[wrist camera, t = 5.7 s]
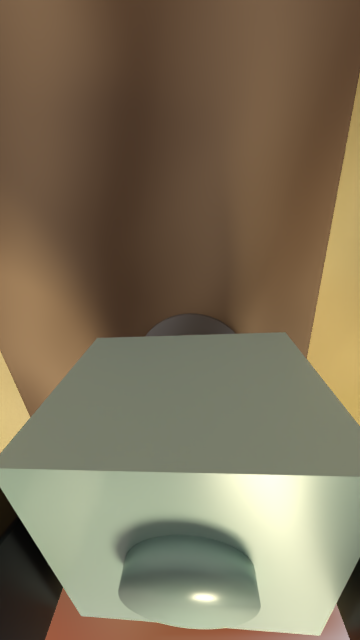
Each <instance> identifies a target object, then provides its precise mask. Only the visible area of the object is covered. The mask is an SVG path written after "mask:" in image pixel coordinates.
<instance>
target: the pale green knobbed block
mask: <svg viewBox="0 0 360 640" xmlns="http://www.w3.org/2000/svg"><path fill="white" fill-rule="evenodd" d="M0 488H1V489H2V491H3V493H4V494H5V496H6V497H7V499H8V501H9V502H10V504H11V505H12V507H13V508H14V510H15V512H16V513H17V515H18V516H19V518H20V520H21V521H22V523H23V524H24V526H25V528H26V529H27V531H28V532H29V534H30V535H31V537H32V539H33V540H34V542H35V543H36V545H37V547H38V548H39V550H40V551H41V553H42V554H43V556H44V558H45V559H46V561H47V562H48V564H49V566H50V567H51V569H52V570H53V572H54V574H55V575H56V577H57V578H58V580H59V581H60V583H61V585H62V586H63V588H64V589H65V591H66V592H67V594H68V596H69V597H70V599H71V600H72V602H73V604H74V605H75V607H76V608H77V610H78V612H79V613H80V615H81V616H89V617H100V618H112V619H124V620H137V621H149V622H158V623H162V624H166V625H171V626H176V627H182V628H191V629H219V628H233V629H246V630H258V631H270V632H282V633H294V634H295V633H296V634H306V635H318V636H320V634H321V632H322V630H323V629H324V626H325V625H326V623H327V621H328V619H329V617H330V615H331V613H332V611H333V609H334V607H335V605H336V603H337V601H338V599H339V597H340V595H341V593H342V591H343V589H344V587H345V585H346V583H347V581H348V580H349V578H350V576H351V574H352V572H353V570H354V568H355V566H356V564H357V562H358V560H359V558H360V426H359V425H358V424H357V422H356V421H355V420H354V418H353V417H352V416H351V415H350V413H349V412H348V411H347V410H346V408H345V407H344V406H343V405H342V403H341V402H340V401H339V399H338V398H337V397H336V396H335V394H334V393H333V392H332V391H331V389H330V388H329V387H328V386H327V384H326V383H325V382H324V381H323V379H322V378H321V377H320V375H319V374H318V373H317V372H316V370H315V369H314V368H313V367H312V365H311V364H310V363H309V362H308V360H307V359H306V358H305V356H304V355H303V354H302V353H301V351H300V350H299V349H298V348H297V346H296V345H295V344H294V343H293V341H292V340H291V339H290V337H289V336H288V335H287V334H286V332H277V333H244V334H211V335H179V336H146V337H113V338H97V339H96V340H95V341H94V342H93V344H92V345H91V346H90V347H89V348H88V349H87V351H86V352H85V353H84V354H83V355H82V357H81V358H80V359H79V360H78V361H77V363H76V364H75V365H74V366H73V367H72V369H71V370H70V371H69V372H68V373H67V375H66V376H65V377H64V378H63V379H62V381H61V382H60V383H59V384H58V385H57V386H56V388H55V389H54V390H53V391H52V392H51V394H50V395H49V396H48V397H47V398H46V400H45V401H44V402H43V403H42V404H41V406H40V407H39V408H38V409H37V410H36V412H35V413H34V414H33V415H32V416H31V418H30V419H29V420H28V421H27V422H26V424H25V425H24V426H23V427H22V428H21V429H20V431H19V432H18V433H17V434H16V435H15V437H14V438H13V439H12V440H11V441H10V443H9V444H8V445H7V446H6V447H5V449H4V450H3V451H2V452H1V453H0Z"/></svg>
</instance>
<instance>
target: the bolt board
mask: <svg viewBox="0 0 360 640" xmlns="http://www.w3.org/2000/svg"><path fill="white" fill-rule="evenodd" d="M359 72H360V0H0V351H1V353H2V355H3V357H4V360H5V362H6V364H7V366H8V369H9V371H10V373H11V375H12V377H13V380H14V382H15V384H16V386H17V388H18V391H19V393H20V395H21V397H22V399H23V402H24V404H25V406H26V408H27V411H28V413H29V415H30V417H31V416H32V415H33V414H34V413H35V412H36V410H37V409H38V408H39V407H40V406H41V404H42V403H43V402H44V401H45V400H46V398H47V397H48V396H49V395H50V394H51V392H52V391H53V390H54V389H55V388H56V386H57V385H58V384H59V383H60V382H61V381H62V379H63V378H64V377H65V376H66V375H67V373H68V372H69V371H70V370H71V369H72V367H73V366H74V365H75V364H76V363H77V361H78V360H79V359H80V358H81V357H82V355H83V354H84V353H85V352H86V351H87V349H88V348H89V347H90V346H91V345H92V344H93V342H94V341H95V340H96V339H97V338H113V337H146V336H179V335H211V334H244V333H277V332H286V334H287V335H288V336H289V337H290V339H291V340H292V341H293V343H294V344H295V345H296V346H297V348H298V349H299V350H300V351H301V353H302V354H303V355H304V356H305V358H306V359H307V353H308V348H309V343H310V337H311V332H312V326H313V321H314V316H315V310H316V305H317V299H318V294H319V289H320V283H321V278H322V272H323V267H324V261H325V256H326V251H327V245H328V240H329V234H330V229H331V224H332V218H333V213H334V207H335V202H336V197H337V191H338V186H339V180H340V175H341V170H342V164H343V159H344V153H345V148H346V142H347V137H348V132H349V126H350V121H351V115H352V110H353V105H354V99H355V94H356V88H357V83H358V78H359Z"/></svg>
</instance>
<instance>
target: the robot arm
mask: <svg viewBox="0 0 360 640" xmlns="http://www.w3.org/2000/svg"><path fill="white" fill-rule="evenodd" d="M62 589H63V586H62V585H61V583H60V581H59V580H58V578H57V577H56V575H55V574H54V572H53V570H52V569H51V567H50V566H49V564H48V562H47V561H46V559H45V558H44V556H43V554H42V553H41V551H40V550H39V548H38V547H37V545H36V543H35V542H34V540H33V539H32V537H31V535H30V534H29V532H28V531H27V529H26V528H25V526H24V524H23V523H22V521H21V520H20V518H19V516H18V515H17V513H16V512H15V510H14V508H13V507H12V505H11V504H10V502H9V501H8V499H7V497H6V496H5V494H4V493H3V491H2V489H1V488H0V640H45V638H46V635H47V632H48V629H49V626H50V624H51V620H52V617H53V615H54V612H55V609H56V606H57V603H58V600H59V598H60V594H61V592H62ZM337 606H338V609H339V611H340V614H341V616H342V619H343V622H344V625H345V627H346V630H347V632H348V635H349V638H350V640H360V558H359V560H358V562H357V564H356V566H355V568H354V570H353V572H352V574H351V576H350V578H349V580H348V581H347V583H346V585H345V587H344V589H343V591H342V593H341V595H340V597H339V599H338V601H337Z"/></svg>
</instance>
